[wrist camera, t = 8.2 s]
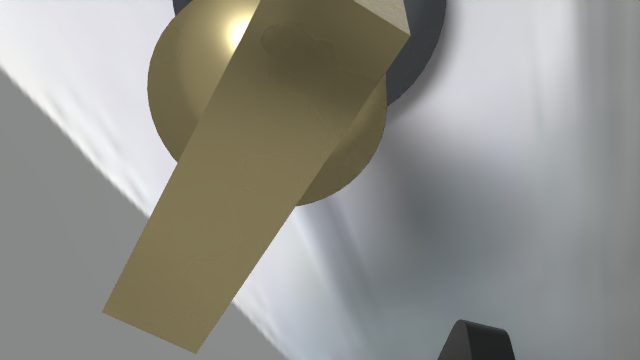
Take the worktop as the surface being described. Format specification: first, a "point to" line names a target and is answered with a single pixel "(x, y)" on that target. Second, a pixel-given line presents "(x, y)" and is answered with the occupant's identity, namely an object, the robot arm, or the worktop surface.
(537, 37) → the worktop surface
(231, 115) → the door handle
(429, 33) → the round metal flange
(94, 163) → the worktop surface
